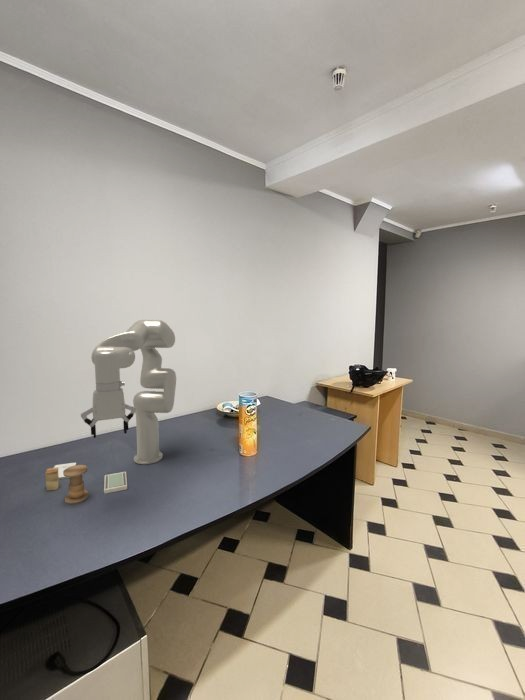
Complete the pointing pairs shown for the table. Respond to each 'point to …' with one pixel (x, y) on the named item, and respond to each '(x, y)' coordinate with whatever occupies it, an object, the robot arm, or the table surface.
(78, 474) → the bobbin
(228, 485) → the table surface
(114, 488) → the board
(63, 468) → the external hard drive
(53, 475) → the wooden block
